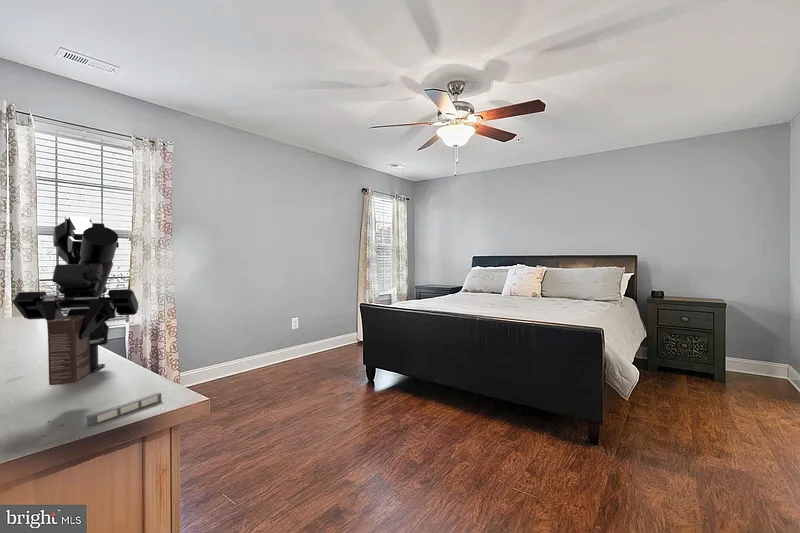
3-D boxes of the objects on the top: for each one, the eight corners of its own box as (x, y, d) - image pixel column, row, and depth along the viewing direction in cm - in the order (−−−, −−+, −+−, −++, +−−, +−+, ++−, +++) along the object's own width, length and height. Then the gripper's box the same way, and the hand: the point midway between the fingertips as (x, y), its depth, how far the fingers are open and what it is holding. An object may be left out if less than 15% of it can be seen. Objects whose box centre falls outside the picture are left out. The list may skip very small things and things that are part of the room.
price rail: (87, 424, 63) (86, 415, 63) (157, 399, 74) (157, 392, 74) (91, 425, 63) (91, 417, 63) (162, 400, 74) (161, 393, 74)
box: (63, 376, 73) (64, 315, 73) (91, 374, 75) (92, 314, 74) (45, 386, 67) (46, 320, 67) (75, 384, 69) (76, 319, 69)
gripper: (17, 249, 71) (-24, 316, 61) (132, 250, 77) (112, 310, 67) (42, 287, 79) (9, 352, 69) (145, 285, 85) (129, 344, 75)
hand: (65, 339), depth 70 cm, fingers closed on box, 4 cm apart
